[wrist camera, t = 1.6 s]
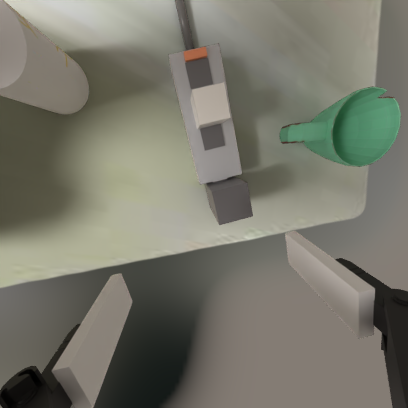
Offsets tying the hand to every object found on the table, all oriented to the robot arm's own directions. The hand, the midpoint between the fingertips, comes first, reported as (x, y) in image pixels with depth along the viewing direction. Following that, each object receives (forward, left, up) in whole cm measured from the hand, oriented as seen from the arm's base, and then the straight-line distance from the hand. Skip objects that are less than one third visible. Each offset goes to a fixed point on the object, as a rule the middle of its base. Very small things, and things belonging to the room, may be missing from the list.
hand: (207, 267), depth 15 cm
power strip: (+5, +18, -21) cm, 28 cm away
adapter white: (+5, +14, -17) cm, 22 cm away
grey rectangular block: (+5, +2, -21) cm, 22 cm away
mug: (+22, +7, -21) cm, 31 cm away
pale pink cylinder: (-15, +22, -21) cm, 34 cm away
